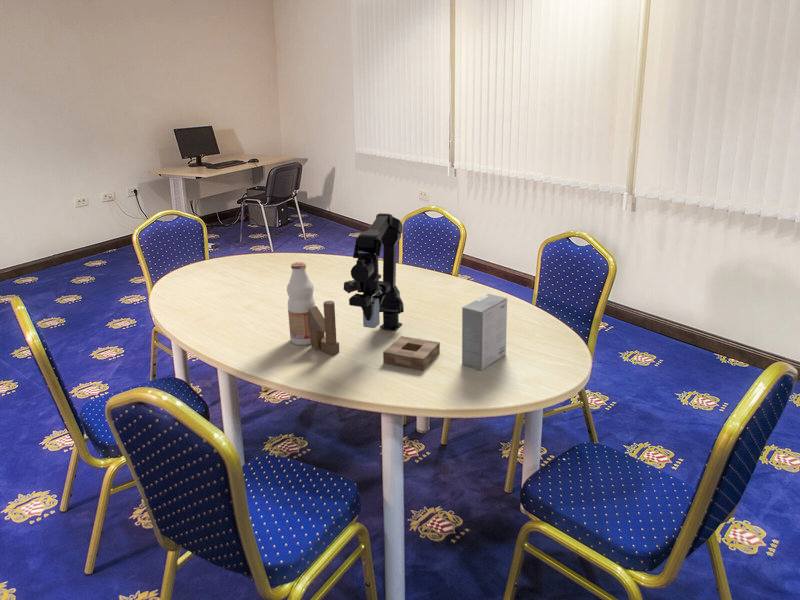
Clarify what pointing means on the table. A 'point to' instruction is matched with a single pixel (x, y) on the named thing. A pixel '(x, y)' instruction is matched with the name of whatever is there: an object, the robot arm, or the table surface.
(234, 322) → the table surface
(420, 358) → the mortise block
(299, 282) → the fruit juice
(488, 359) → the hard drive box
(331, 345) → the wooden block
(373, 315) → the tenon peg
